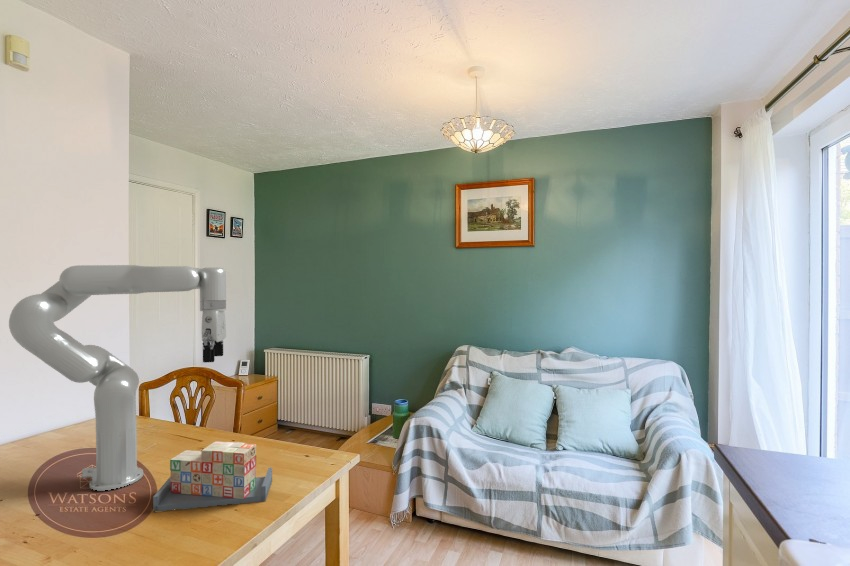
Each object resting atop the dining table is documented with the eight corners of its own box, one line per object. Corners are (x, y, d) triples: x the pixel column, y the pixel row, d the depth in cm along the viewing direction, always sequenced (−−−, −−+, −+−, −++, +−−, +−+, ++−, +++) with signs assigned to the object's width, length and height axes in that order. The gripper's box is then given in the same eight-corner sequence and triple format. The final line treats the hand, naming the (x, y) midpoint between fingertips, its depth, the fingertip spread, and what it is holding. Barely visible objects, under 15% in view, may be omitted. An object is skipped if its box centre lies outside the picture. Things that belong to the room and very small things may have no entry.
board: (153, 512, 105) (153, 496, 105) (170, 490, 116) (170, 476, 116) (265, 501, 110) (265, 486, 110) (272, 481, 121) (272, 467, 121)
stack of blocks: (169, 493, 111) (169, 448, 111) (185, 482, 117) (185, 439, 117) (244, 499, 108) (244, 452, 108) (256, 487, 115) (256, 443, 114)
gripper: (217, 307, 125) (218, 364, 125) (232, 303, 142) (232, 353, 142) (190, 308, 123) (191, 365, 124) (208, 304, 140) (209, 354, 141)
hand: (213, 358), depth 133 cm, fingers open, 9 cm apart
